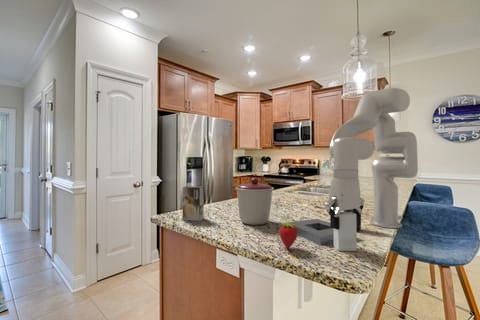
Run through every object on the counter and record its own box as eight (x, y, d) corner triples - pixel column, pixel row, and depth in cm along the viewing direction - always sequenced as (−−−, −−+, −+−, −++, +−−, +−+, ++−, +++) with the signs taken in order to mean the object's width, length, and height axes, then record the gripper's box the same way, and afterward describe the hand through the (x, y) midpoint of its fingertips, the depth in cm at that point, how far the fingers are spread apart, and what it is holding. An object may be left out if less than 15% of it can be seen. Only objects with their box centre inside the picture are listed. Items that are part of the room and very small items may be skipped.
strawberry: (296, 245, 80) (296, 216, 80) (298, 253, 72) (298, 221, 72) (279, 244, 81) (279, 215, 81) (278, 252, 73) (279, 220, 74)
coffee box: (204, 218, 117) (204, 186, 117) (199, 221, 111) (200, 187, 111) (186, 217, 118) (187, 185, 119) (181, 220, 112) (182, 187, 112)
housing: (317, 225, 106) (317, 218, 106) (355, 238, 88) (355, 230, 88) (285, 229, 98) (285, 222, 98) (320, 245, 80) (320, 236, 80)
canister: (238, 217, 120) (238, 176, 120) (273, 218, 118) (273, 177, 118) (232, 226, 102) (232, 178, 102) (273, 228, 100) (274, 179, 100)
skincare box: (350, 246, 79) (350, 211, 79) (357, 251, 74) (357, 214, 75) (332, 246, 79) (332, 210, 79) (338, 251, 74) (338, 213, 75)
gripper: (353, 173, 84) (353, 221, 84) (317, 175, 77) (317, 226, 77) (373, 175, 77) (373, 226, 77) (335, 176, 70) (335, 233, 70)
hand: (345, 226), depth 77 cm, fingers open, 9 cm apart
